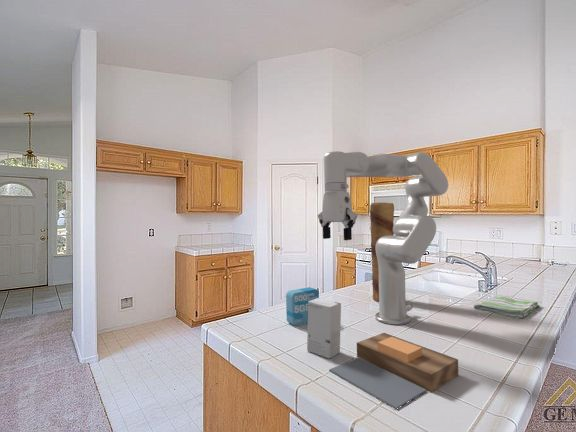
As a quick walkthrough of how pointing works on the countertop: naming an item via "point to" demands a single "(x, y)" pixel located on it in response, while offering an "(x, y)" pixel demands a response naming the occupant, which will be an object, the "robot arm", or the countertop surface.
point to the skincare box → (324, 327)
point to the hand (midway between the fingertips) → (336, 239)
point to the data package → (299, 304)
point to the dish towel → (507, 307)
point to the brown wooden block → (411, 364)
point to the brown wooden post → (379, 236)
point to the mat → (378, 382)
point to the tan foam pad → (400, 349)
